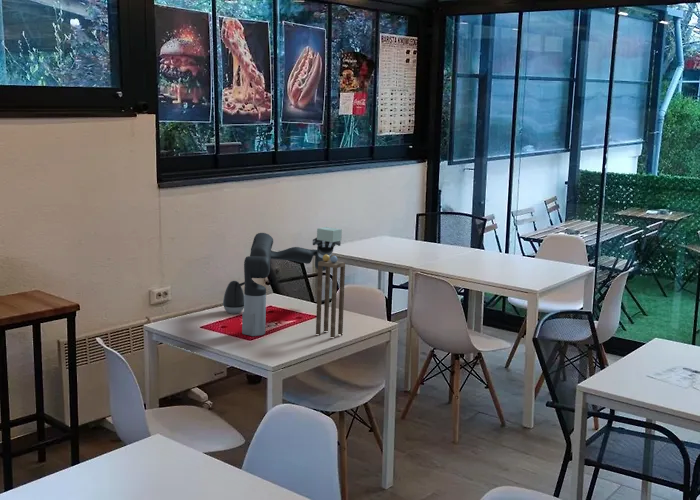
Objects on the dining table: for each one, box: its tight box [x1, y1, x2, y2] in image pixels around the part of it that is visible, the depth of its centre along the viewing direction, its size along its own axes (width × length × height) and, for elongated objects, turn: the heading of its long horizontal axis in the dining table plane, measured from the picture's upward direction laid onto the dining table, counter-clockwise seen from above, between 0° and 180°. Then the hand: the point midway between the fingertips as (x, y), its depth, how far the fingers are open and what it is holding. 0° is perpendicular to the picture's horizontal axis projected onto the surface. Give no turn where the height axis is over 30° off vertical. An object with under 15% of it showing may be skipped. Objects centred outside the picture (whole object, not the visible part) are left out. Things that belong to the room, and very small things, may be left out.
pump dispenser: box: [222, 280, 245, 315], centre depth 368 cm, size 10×10×15 cm
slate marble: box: [330, 255, 338, 263], centre depth 330 cm, size 3×3×3 cm
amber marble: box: [323, 254, 331, 261], centre depth 333 cm, size 3×3×3 cm
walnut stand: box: [315, 260, 346, 338], centre depth 335 cm, size 7×9×32 cm
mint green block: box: [316, 226, 343, 242], centre depth 353 cm, size 15×15×5 cm
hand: (328, 235), depth 353 cm, fingers closed on mint green block
